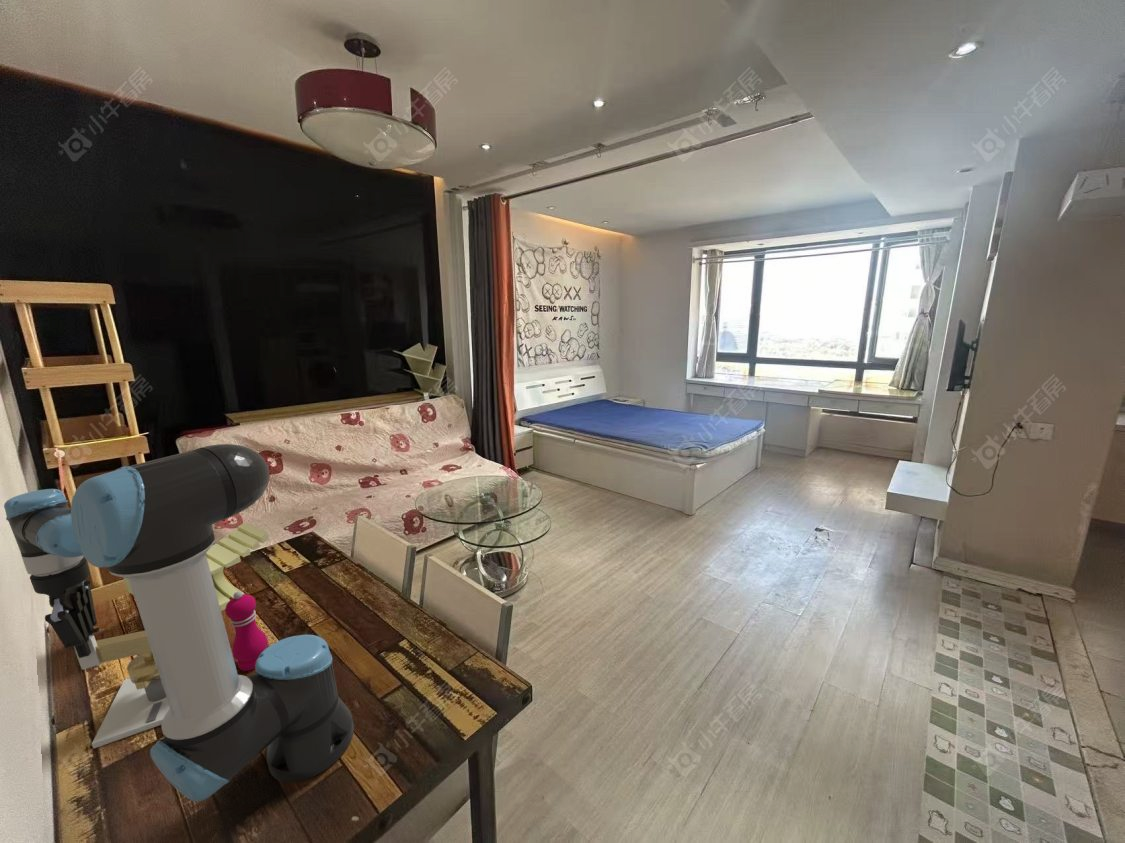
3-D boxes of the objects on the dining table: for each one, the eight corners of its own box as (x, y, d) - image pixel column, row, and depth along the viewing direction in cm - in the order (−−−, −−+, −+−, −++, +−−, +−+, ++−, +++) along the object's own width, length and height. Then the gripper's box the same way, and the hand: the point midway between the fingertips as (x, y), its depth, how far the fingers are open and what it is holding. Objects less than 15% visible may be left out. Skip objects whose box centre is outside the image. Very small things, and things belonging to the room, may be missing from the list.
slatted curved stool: (252, 567, 150) (241, 520, 145) (278, 581, 142) (267, 532, 137) (137, 621, 125) (119, 566, 120) (159, 642, 117) (142, 584, 112)
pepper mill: (253, 674, 106) (236, 603, 101) (228, 670, 107) (210, 600, 102) (278, 652, 113) (262, 584, 108) (254, 648, 114) (238, 581, 109)
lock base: (204, 709, 97) (197, 682, 95) (93, 748, 89) (82, 720, 87) (219, 654, 112) (213, 630, 111) (125, 683, 104) (117, 658, 102)
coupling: (204, 674, 97) (194, 638, 95) (74, 705, 90) (59, 667, 87) (222, 638, 107) (214, 605, 105) (107, 664, 100) (95, 629, 98)
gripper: (68, 577, 83) (104, 679, 89) (97, 546, 94) (127, 638, 100) (11, 590, 80) (52, 695, 86) (47, 556, 91) (81, 651, 97)
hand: (92, 664), depth 93 cm, fingers closed
